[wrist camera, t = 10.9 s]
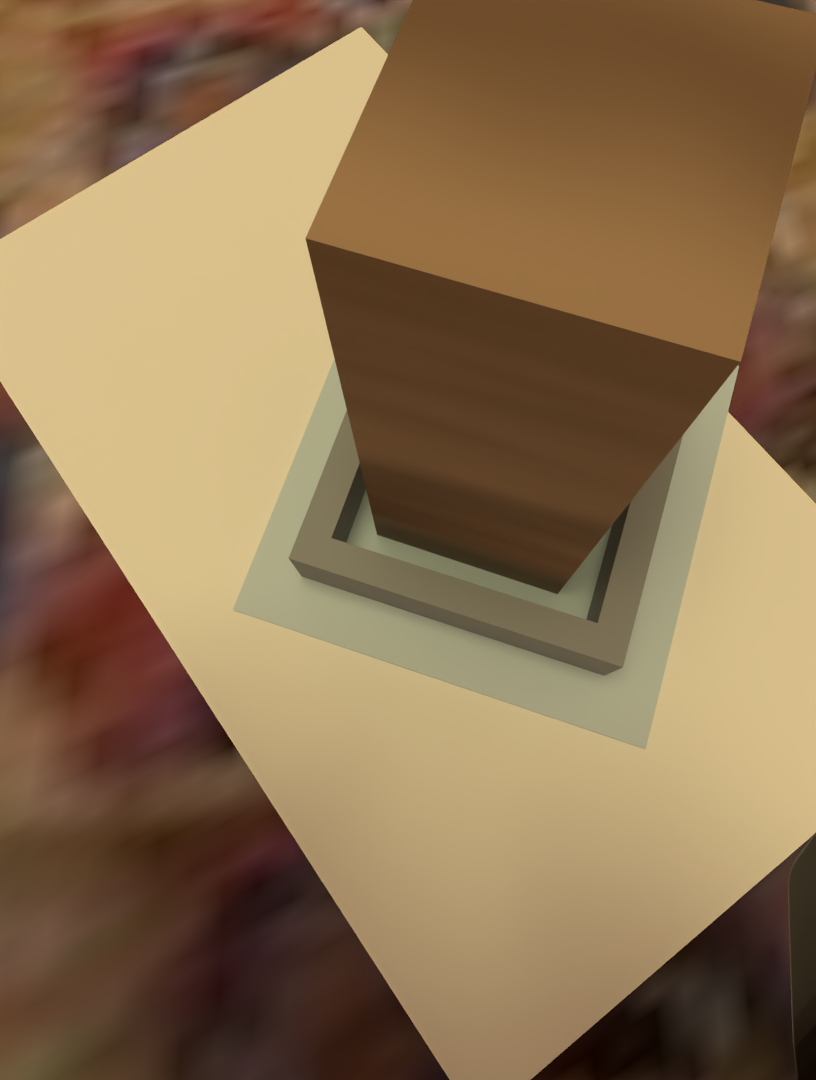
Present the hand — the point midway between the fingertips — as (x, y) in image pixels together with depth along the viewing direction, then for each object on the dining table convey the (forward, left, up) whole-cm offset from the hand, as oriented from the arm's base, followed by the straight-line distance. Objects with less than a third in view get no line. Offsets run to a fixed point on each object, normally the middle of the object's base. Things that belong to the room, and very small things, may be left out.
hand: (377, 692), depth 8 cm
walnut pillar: (+6, +4, -11) cm, 13 cm away
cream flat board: (+4, +6, -12) cm, 14 cm away
